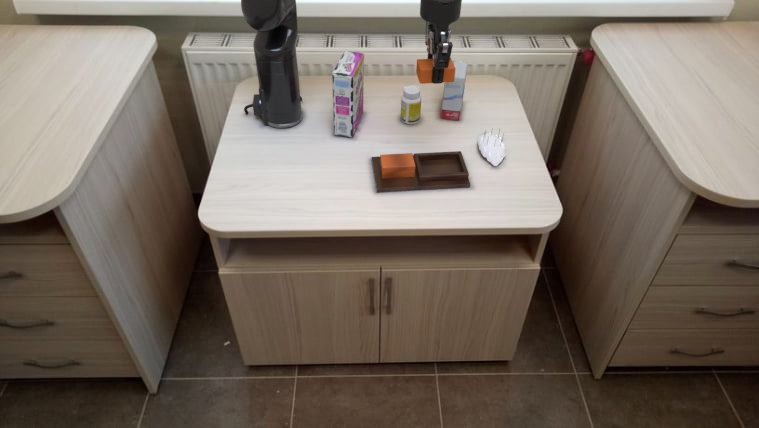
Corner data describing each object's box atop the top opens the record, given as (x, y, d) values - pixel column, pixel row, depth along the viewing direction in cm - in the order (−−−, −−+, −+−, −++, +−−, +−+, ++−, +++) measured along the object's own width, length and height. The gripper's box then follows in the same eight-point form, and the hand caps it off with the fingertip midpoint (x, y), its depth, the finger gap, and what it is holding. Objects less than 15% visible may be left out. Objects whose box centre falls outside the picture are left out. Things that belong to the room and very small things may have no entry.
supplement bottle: (422, 117, 134) (425, 87, 129) (415, 126, 131) (417, 96, 126) (404, 112, 136) (406, 82, 130) (397, 121, 133) (398, 91, 127)
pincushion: (473, 135, 129) (477, 115, 125) (499, 135, 129) (503, 115, 125) (481, 167, 120) (485, 146, 117) (508, 167, 121) (513, 146, 117)
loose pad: (419, 83, 108) (420, 70, 106) (416, 72, 112) (416, 59, 109) (454, 81, 109) (455, 68, 107) (449, 70, 112) (450, 57, 110)
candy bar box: (354, 138, 127) (353, 76, 116) (333, 136, 128) (330, 73, 117) (364, 113, 135) (364, 52, 124) (345, 110, 136) (343, 49, 125)
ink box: (459, 121, 133) (465, 78, 125) (439, 118, 134) (444, 76, 126) (462, 103, 139) (468, 61, 131) (443, 100, 140) (448, 58, 132)
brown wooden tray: (376, 192, 114) (376, 178, 111) (371, 160, 121) (371, 145, 119) (469, 187, 115) (472, 172, 113) (459, 155, 123) (461, 141, 121)
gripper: (414, -23, 103) (410, 60, 115) (428, 8, 93) (422, 95, 105) (453, -24, 104) (445, 58, 116) (471, 6, 93) (460, 93, 105)
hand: (434, 75), depth 110 cm, fingers closed on loose pad, 4 cm apart
